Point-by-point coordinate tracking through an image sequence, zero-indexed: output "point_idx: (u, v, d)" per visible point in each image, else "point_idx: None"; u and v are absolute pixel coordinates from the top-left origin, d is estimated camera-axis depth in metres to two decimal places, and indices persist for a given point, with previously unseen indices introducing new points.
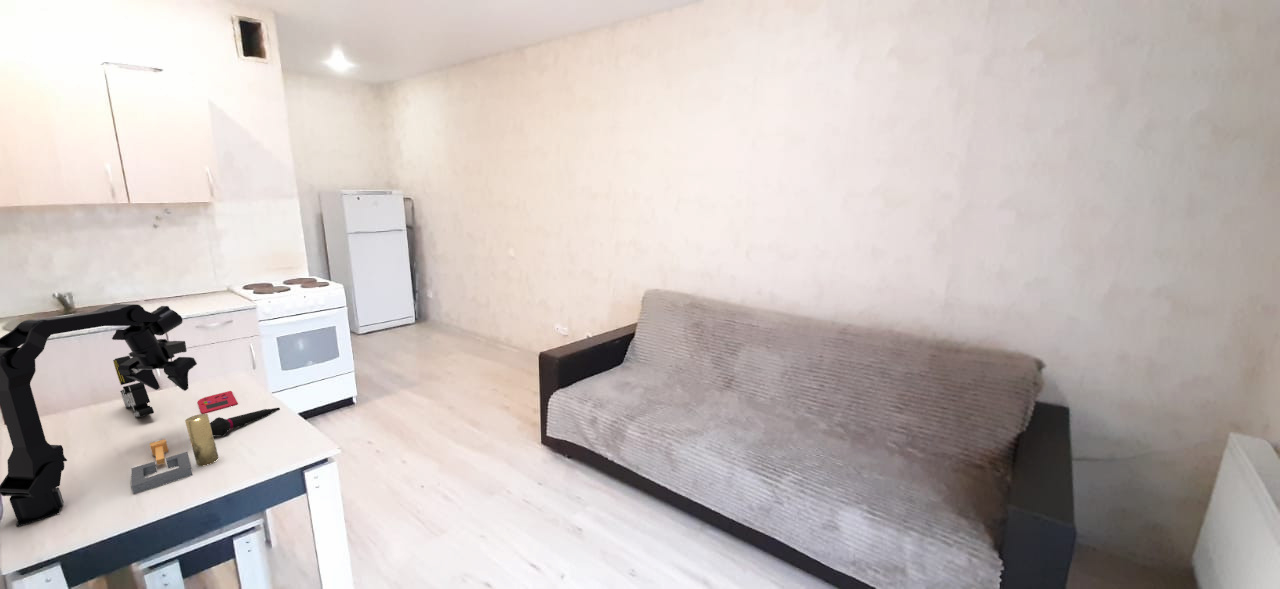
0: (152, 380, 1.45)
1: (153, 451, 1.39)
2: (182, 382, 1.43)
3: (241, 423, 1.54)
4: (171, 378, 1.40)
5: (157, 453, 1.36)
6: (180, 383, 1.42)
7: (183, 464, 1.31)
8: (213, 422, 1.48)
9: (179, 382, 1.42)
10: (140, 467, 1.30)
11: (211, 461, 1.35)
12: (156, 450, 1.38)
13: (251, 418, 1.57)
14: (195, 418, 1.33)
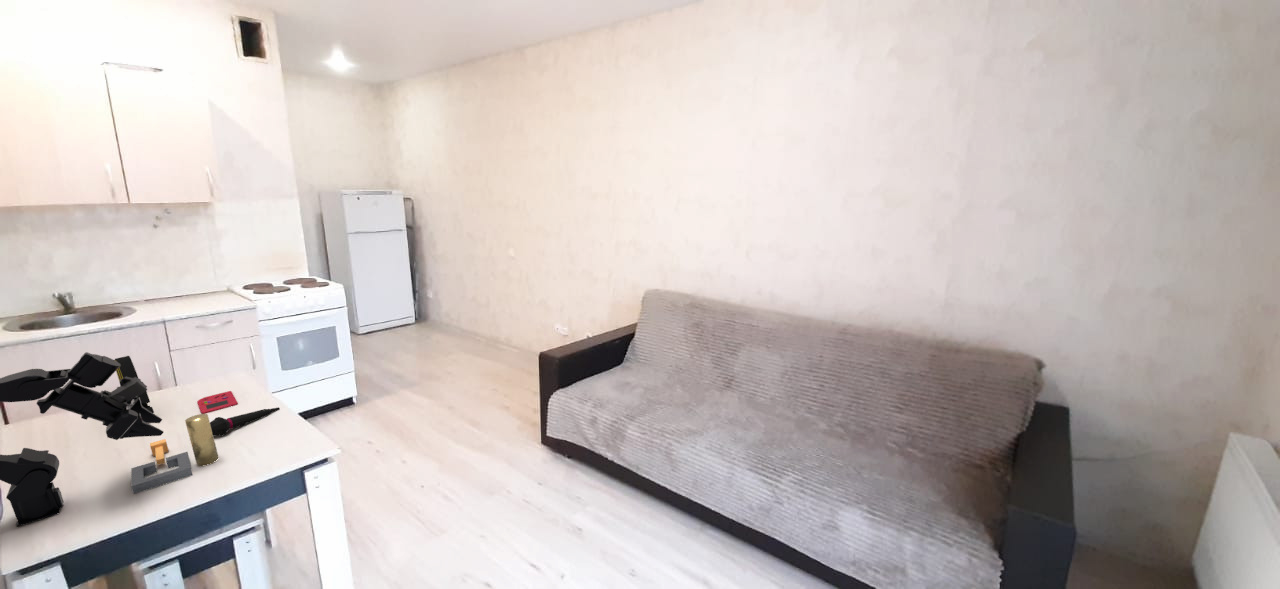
0: (147, 416, 1.30)
1: (153, 451, 1.39)
2: (145, 432, 1.22)
3: (241, 423, 1.54)
4: None
5: (157, 453, 1.36)
6: (142, 435, 1.22)
7: (183, 464, 1.31)
8: (213, 422, 1.48)
9: (139, 435, 1.22)
10: (140, 467, 1.30)
11: (211, 461, 1.35)
12: (156, 450, 1.38)
13: (251, 418, 1.57)
14: (195, 418, 1.33)
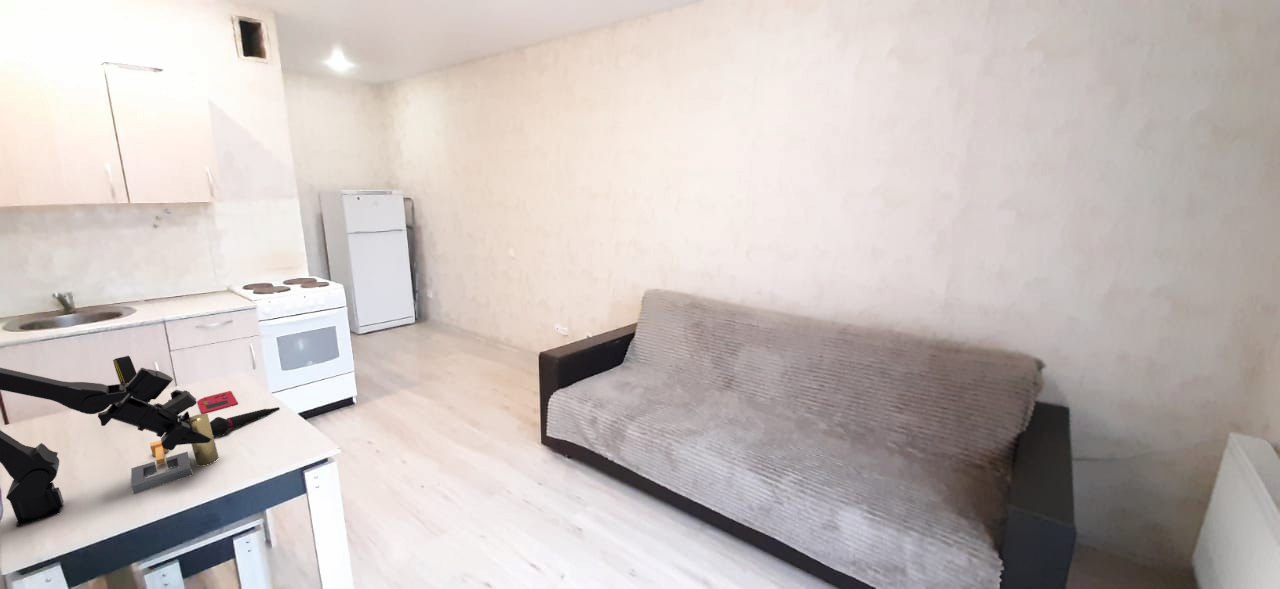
0: None
1: (153, 451, 1.39)
2: (195, 440, 1.31)
3: (241, 423, 1.54)
4: None
5: (157, 453, 1.36)
6: (192, 442, 1.31)
7: (183, 464, 1.31)
8: (212, 422, 1.48)
9: (189, 442, 1.30)
10: (140, 467, 1.30)
11: (211, 461, 1.35)
12: (156, 450, 1.38)
13: (251, 418, 1.57)
14: (195, 418, 1.33)
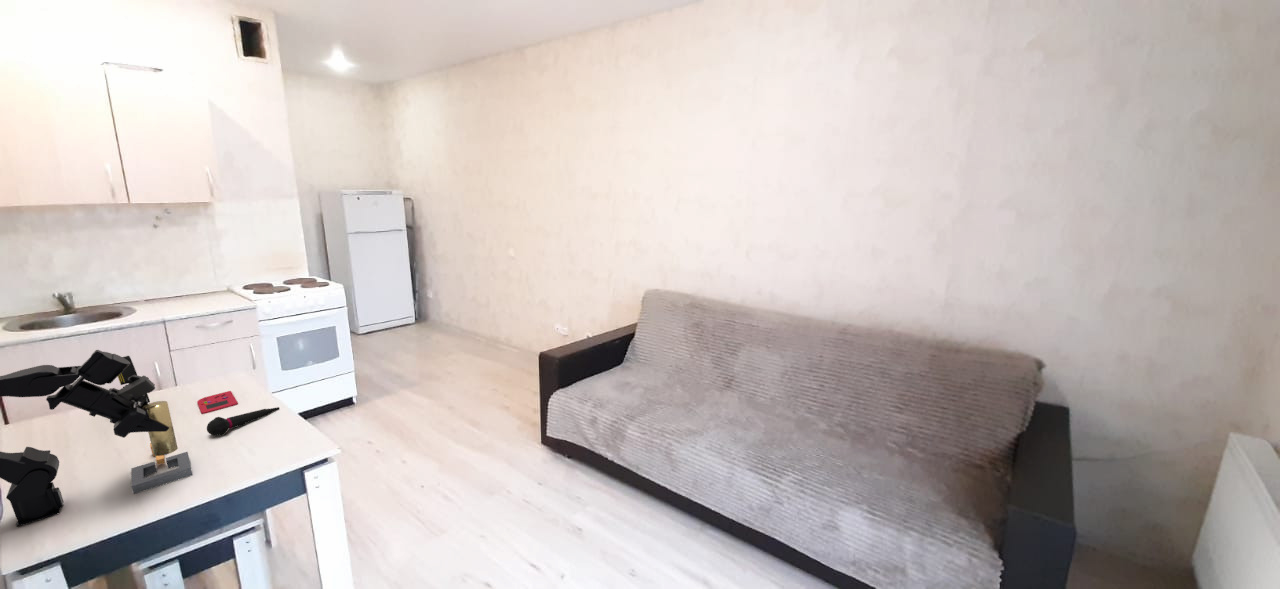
0: None
1: None
2: (151, 428, 1.25)
3: (240, 423, 1.55)
4: None
5: None
6: (148, 430, 1.24)
7: (183, 464, 1.31)
8: (212, 421, 1.48)
9: (145, 430, 1.24)
10: (140, 467, 1.30)
11: (169, 451, 1.29)
12: None
13: (250, 418, 1.57)
14: (153, 405, 1.27)
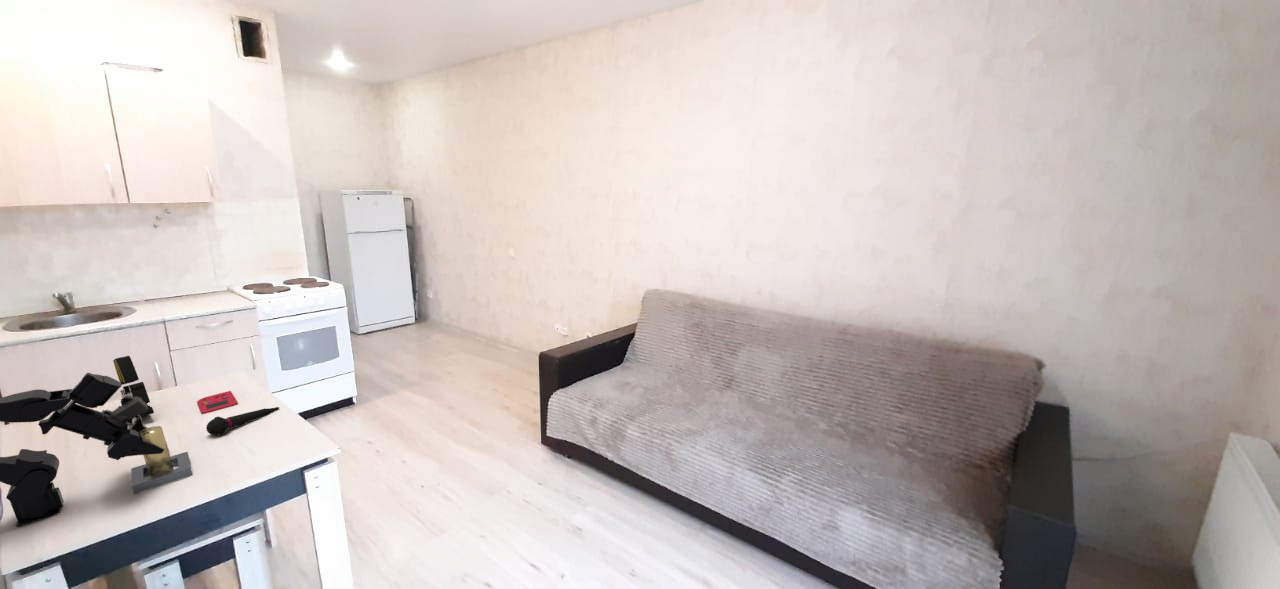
0: None
1: None
2: (146, 451, 1.24)
3: (240, 423, 1.55)
4: None
5: None
6: (143, 453, 1.23)
7: (183, 464, 1.31)
8: (212, 421, 1.49)
9: (140, 453, 1.23)
10: (140, 467, 1.30)
11: None
12: None
13: (250, 417, 1.57)
14: (148, 431, 1.27)
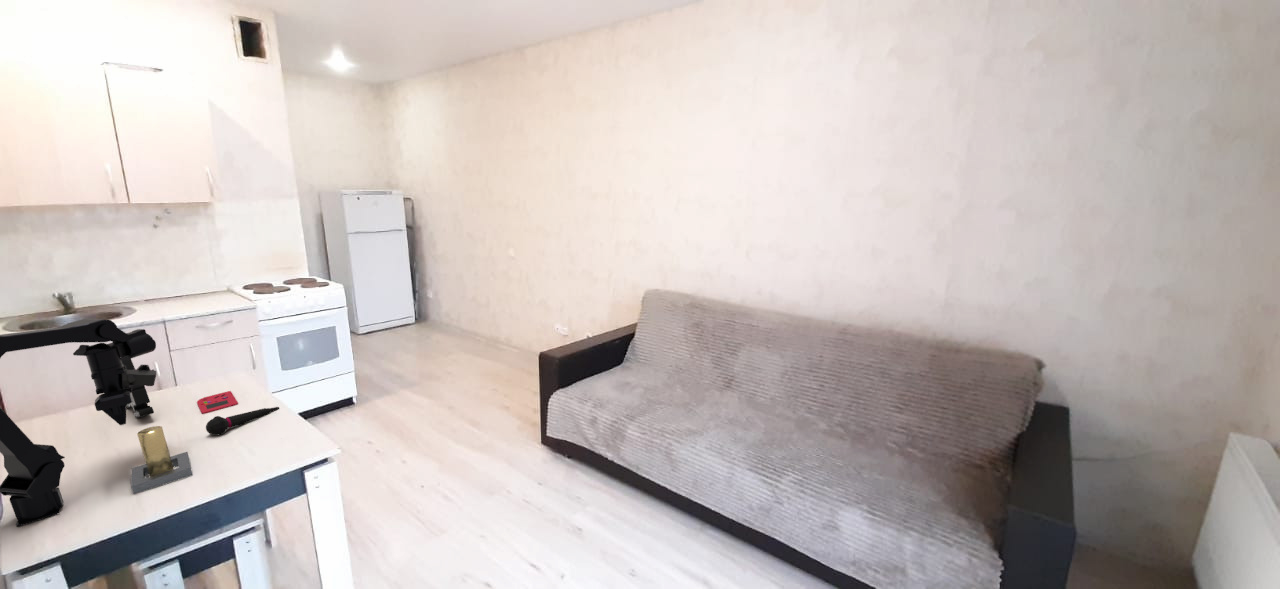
0: None
1: None
2: (115, 415, 1.29)
3: (240, 422, 1.55)
4: None
5: None
6: (112, 416, 1.28)
7: (183, 464, 1.31)
8: (211, 421, 1.49)
9: (110, 414, 1.28)
10: (140, 467, 1.30)
11: None
12: None
13: (250, 417, 1.57)
14: (148, 431, 1.27)
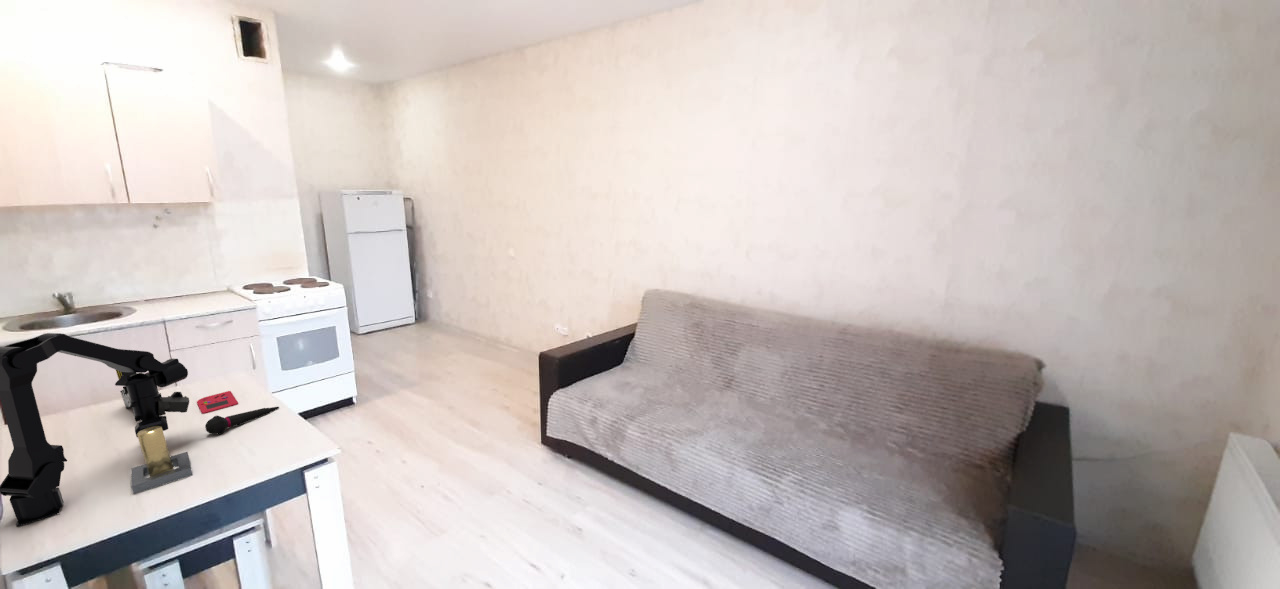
0: None
1: None
2: None
3: (239, 422, 1.55)
4: None
5: None
6: None
7: (183, 464, 1.31)
8: (211, 420, 1.49)
9: None
10: (140, 467, 1.30)
11: None
12: None
13: (249, 417, 1.58)
14: (148, 431, 1.27)
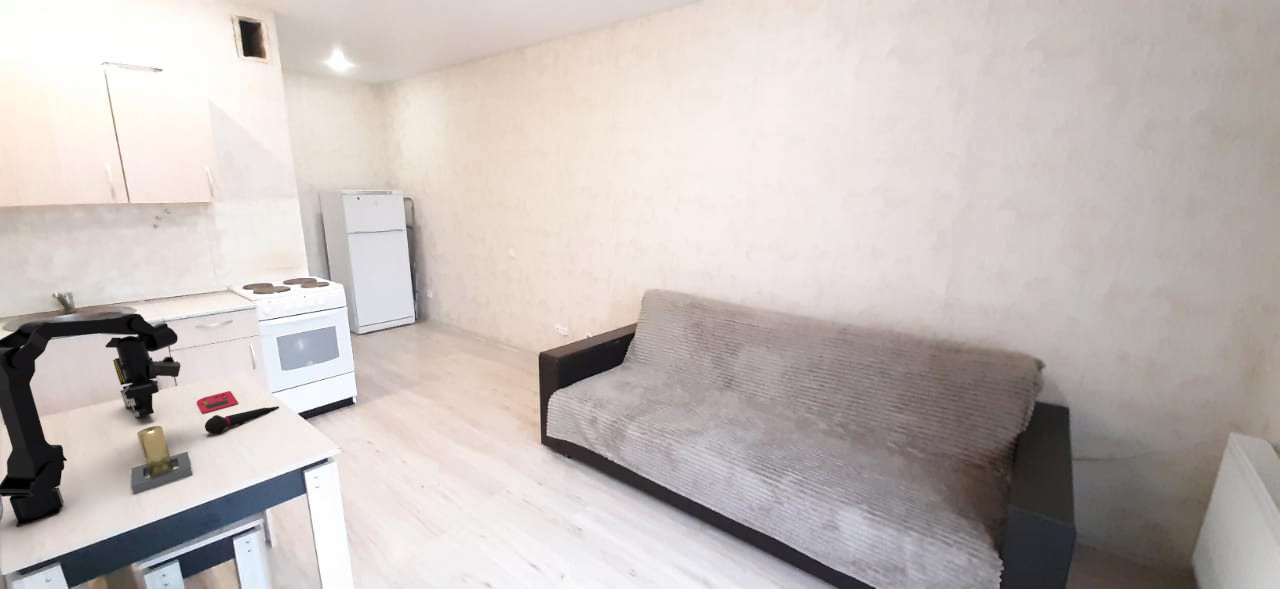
0: None
1: None
2: (143, 401, 1.39)
3: (239, 422, 1.55)
4: None
5: None
6: (140, 402, 1.38)
7: (183, 464, 1.31)
8: (210, 420, 1.49)
9: (138, 400, 1.38)
10: (140, 467, 1.30)
11: None
12: None
13: (249, 416, 1.58)
14: (148, 431, 1.27)
